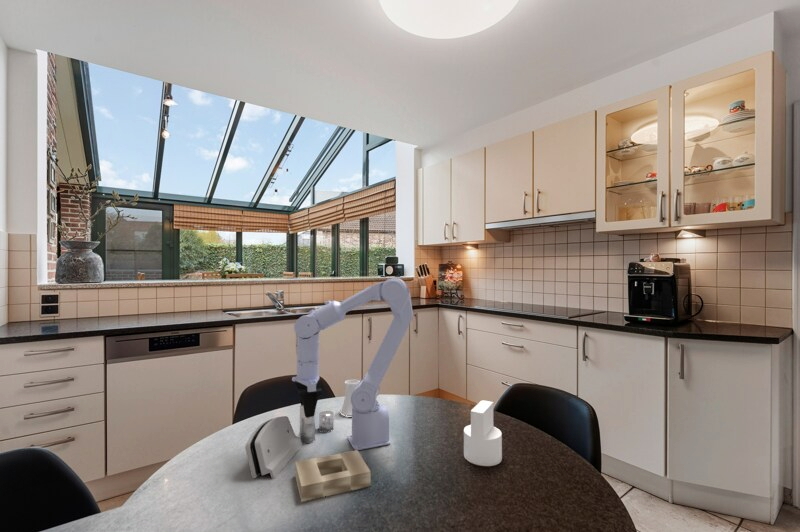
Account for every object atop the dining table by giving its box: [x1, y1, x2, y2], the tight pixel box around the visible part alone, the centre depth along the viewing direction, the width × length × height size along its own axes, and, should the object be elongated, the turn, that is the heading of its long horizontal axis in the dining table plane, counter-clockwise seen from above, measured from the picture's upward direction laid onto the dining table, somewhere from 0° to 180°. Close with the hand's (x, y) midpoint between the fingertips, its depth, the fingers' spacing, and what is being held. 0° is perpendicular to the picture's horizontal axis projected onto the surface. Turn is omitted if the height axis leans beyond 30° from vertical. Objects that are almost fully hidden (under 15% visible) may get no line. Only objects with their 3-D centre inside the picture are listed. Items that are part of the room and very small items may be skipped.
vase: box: [339, 379, 361, 416], centre depth 115 cm, size 8×8×10 cm
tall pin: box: [299, 404, 316, 444], centre depth 96 cm, size 4×4×9 cm
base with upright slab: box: [463, 399, 503, 467], centre depth 88 cm, size 9×9×12 cm
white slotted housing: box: [244, 415, 303, 480], centre depth 86 cm, size 17×5×10 cm, turn 173°
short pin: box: [318, 410, 334, 433], centre depth 103 cm, size 4×4×4 cm
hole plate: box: [294, 450, 372, 503], centre depth 77 cm, size 14×10×3 cm
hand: (307, 411), depth 96 cm, fingers open, 7 cm apart
